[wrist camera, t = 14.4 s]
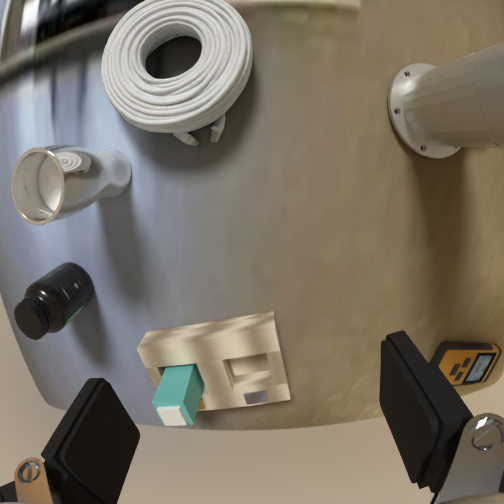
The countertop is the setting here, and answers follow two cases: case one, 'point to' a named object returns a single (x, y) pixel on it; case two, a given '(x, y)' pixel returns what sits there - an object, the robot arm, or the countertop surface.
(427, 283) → the countertop surface
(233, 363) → the socket block
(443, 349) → the electronic device
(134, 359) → the countertop surface
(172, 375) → the plug
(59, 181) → the beer glass
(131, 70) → the cable
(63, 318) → the supplement bottle
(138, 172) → the countertop surface
